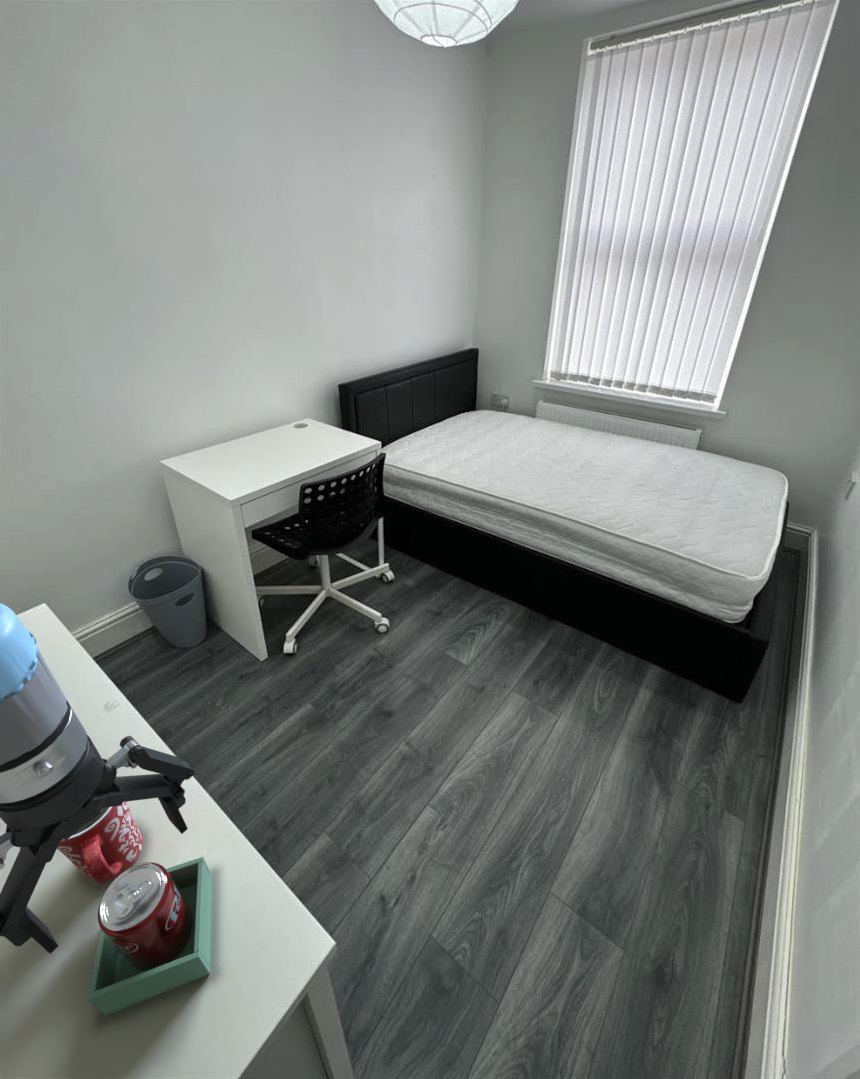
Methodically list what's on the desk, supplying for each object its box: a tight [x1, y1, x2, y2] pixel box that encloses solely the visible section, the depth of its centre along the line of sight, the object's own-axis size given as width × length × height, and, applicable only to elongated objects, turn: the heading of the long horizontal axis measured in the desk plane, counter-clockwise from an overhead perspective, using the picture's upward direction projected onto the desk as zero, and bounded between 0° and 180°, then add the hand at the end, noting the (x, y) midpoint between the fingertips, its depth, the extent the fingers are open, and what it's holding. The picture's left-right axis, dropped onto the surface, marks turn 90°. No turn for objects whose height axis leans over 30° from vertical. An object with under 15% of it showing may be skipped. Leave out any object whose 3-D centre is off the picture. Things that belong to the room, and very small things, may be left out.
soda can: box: [97, 861, 192, 972], centre depth 57 cm, size 7×7×12 cm
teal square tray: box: [87, 856, 213, 1016], centre depth 59 cm, size 11×11×6 cm
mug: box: [56, 802, 144, 884], centre depth 64 cm, size 13×9×14 cm
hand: (119, 877), depth 52 cm, fingers open, 13 cm apart
